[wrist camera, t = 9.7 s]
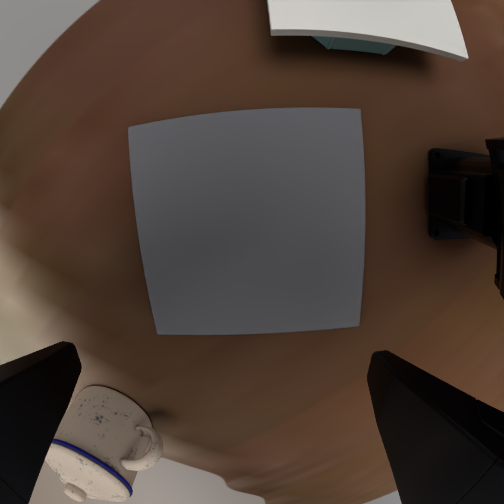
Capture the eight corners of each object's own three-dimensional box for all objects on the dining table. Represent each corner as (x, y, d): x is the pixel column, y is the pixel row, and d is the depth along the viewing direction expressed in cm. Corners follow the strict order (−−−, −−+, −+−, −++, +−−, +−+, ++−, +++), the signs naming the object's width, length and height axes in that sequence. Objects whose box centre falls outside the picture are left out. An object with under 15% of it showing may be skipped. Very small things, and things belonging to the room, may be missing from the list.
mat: (358, 110, 17) (360, 109, 16) (357, 322, 21) (359, 326, 20) (131, 128, 17) (128, 127, 17) (159, 331, 21) (157, 334, 21)
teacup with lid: (109, 440, 26) (75, 511, 15) (64, 384, 24) (11, 456, 13) (195, 437, 25) (172, 533, 14) (150, 374, 23) (98, 479, 12)
